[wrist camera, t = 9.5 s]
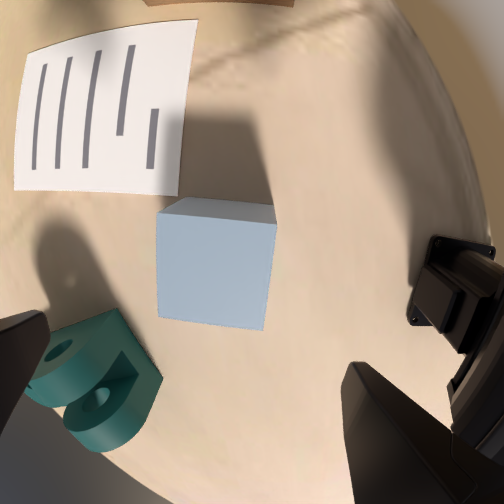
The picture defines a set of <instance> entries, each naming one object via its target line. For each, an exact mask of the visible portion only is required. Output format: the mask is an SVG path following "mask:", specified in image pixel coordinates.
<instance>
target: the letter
mask: <svg viewBox="0 0 504 504" xmlns="http://www.w3.org/2000/svg"><path fill="white" fill-rule="evenodd" d="M197 26H198V20H182V21H169V22H159V23H150V24H143V25H136V26H129V27H124V28H118V29H113V30H108V31H103V32H99V33H94V34H90V35H86V36H82V37H78V38H75V39H71V40H68V41H64V42H61V43H58V44H55V45H51V46H48V47H46V48H43V49H40V50H37V51H34V52H32V53H29V54H28V56H27V60H26V65H25V70H24V75H23V80H22V86H21V92H20V98H19V105H18V114H17V123H16V135H15V152H14V190H50V191H90V192H115V193H134V194H151V195H166V196H178V188H179V172H180V159H181V147H182V136H183V125H184V116H185V107H186V99H187V91H188V83H189V76H190V69H191V62H192V55H193V49H194V43H195V37H196V31H197Z"/></svg>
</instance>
